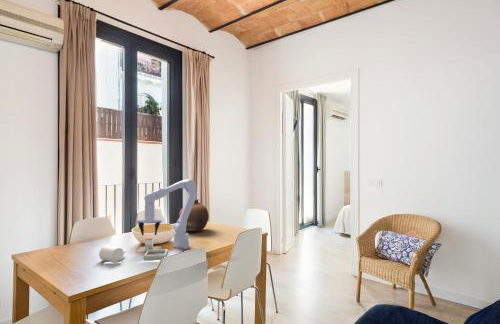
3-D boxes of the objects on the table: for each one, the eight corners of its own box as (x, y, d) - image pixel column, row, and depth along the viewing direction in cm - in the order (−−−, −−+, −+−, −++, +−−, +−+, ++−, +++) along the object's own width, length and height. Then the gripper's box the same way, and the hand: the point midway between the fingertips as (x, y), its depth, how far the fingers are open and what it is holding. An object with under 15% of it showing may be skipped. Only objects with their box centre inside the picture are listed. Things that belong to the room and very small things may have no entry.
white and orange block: (152, 248, 184) (153, 236, 184) (151, 249, 180) (152, 238, 180) (146, 248, 183) (146, 236, 183) (145, 250, 179) (145, 238, 179)
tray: (167, 253, 178) (167, 249, 178) (165, 259, 166) (165, 255, 166) (147, 253, 176) (147, 249, 176) (143, 260, 164) (143, 256, 164)
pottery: (205, 234, 223) (206, 201, 223) (175, 234, 223) (176, 201, 223) (210, 227, 246) (210, 197, 245) (182, 227, 246) (183, 197, 246)
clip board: (161, 247, 188) (161, 241, 188) (159, 252, 178) (159, 246, 178) (138, 248, 186) (138, 242, 185) (135, 253, 176) (135, 246, 176)
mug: (111, 264, 157) (111, 250, 157) (98, 261, 161) (98, 247, 161) (129, 258, 168) (129, 244, 168) (117, 255, 172) (117, 241, 172)
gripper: (162, 211, 187) (162, 233, 187) (138, 211, 184) (138, 233, 184) (161, 213, 180) (160, 235, 180) (136, 213, 177) (135, 236, 177)
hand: (149, 234), depth 182 cm, fingers open, 7 cm apart
